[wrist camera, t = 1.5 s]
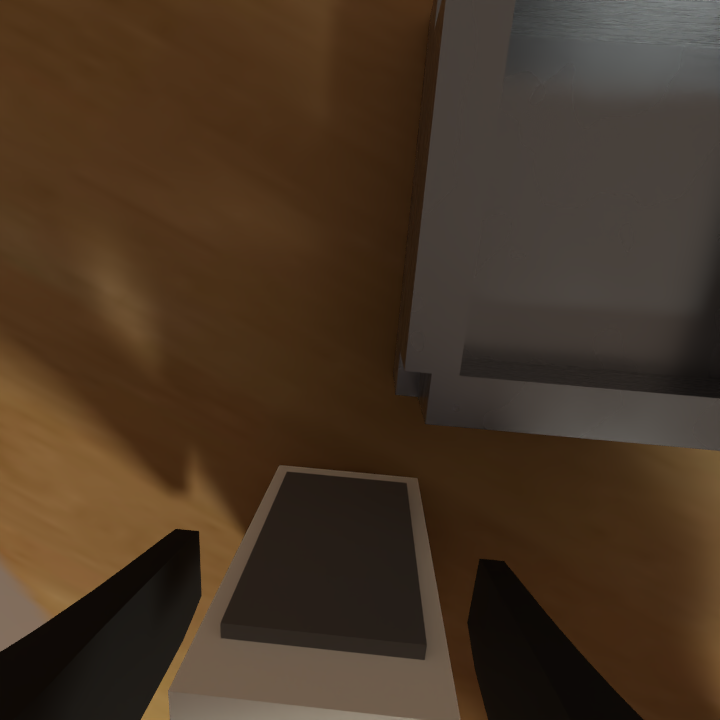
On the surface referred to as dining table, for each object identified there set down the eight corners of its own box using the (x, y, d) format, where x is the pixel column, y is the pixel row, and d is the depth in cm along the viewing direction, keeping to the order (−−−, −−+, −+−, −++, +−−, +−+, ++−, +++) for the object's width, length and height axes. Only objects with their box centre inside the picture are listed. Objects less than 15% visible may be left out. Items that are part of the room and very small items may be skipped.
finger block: (403, 590, 12) (425, 903, 6) (276, 577, 12) (180, 873, 6) (418, 468, 11) (464, 707, 5) (279, 455, 11) (167, 674, 5)
